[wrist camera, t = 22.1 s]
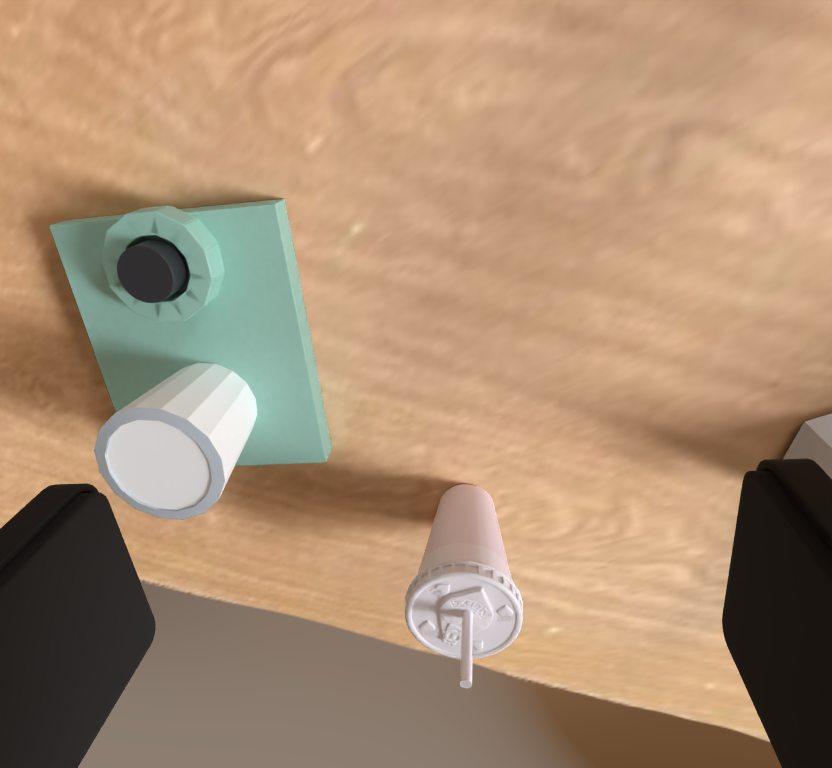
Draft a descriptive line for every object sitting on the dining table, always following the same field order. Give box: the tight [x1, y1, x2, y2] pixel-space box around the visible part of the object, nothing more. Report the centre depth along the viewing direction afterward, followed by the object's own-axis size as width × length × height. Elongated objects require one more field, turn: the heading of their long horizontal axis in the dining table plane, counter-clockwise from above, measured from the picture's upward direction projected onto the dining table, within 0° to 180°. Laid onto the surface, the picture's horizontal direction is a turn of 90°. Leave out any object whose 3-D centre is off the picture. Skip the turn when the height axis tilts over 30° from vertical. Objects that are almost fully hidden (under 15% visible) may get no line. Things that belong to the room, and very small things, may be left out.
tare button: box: [117, 240, 186, 303], centre depth 31 cm, size 3×3×2 cm
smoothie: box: [405, 484, 523, 688], centre depth 34 cm, size 6×6×14 cm
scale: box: [49, 199, 332, 466], centre depth 35 cm, size 16×13×4 cm
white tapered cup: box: [94, 363, 257, 520], centre depth 34 cm, size 7×7×7 cm
